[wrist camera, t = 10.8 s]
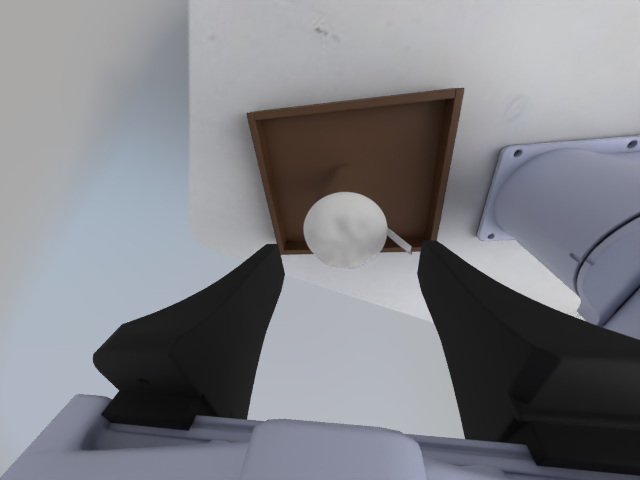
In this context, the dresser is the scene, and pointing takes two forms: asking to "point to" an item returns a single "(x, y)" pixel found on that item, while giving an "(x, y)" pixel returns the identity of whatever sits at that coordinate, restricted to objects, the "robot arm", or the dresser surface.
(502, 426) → the robot arm
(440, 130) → the tray
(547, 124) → the dresser surface
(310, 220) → the milkshake
